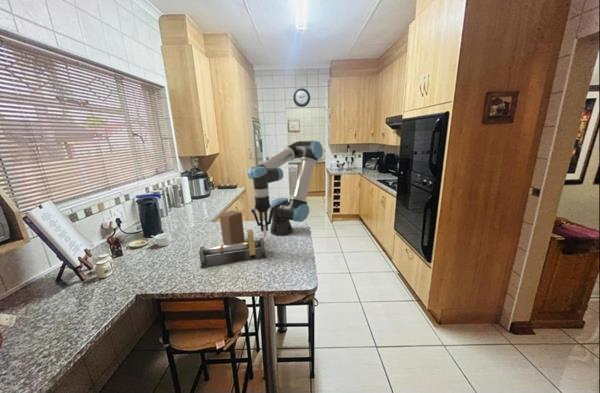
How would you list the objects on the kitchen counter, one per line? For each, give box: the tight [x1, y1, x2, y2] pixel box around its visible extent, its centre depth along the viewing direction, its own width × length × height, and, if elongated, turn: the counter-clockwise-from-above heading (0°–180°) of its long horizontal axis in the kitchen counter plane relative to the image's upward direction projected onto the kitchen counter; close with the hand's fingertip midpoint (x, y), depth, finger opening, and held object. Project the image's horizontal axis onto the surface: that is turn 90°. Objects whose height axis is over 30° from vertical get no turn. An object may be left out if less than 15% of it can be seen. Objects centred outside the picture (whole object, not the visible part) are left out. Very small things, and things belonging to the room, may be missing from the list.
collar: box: [246, 228, 256, 255], centre depth 138 cm, size 3×8×12 cm, turn 15°
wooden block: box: [219, 209, 245, 245], centre depth 154 cm, size 10×10×20 cm
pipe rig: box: [198, 237, 267, 269], centre depth 136 cm, size 34×12×8 cm, turn 105°
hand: (265, 236), depth 139 cm, fingers closed
